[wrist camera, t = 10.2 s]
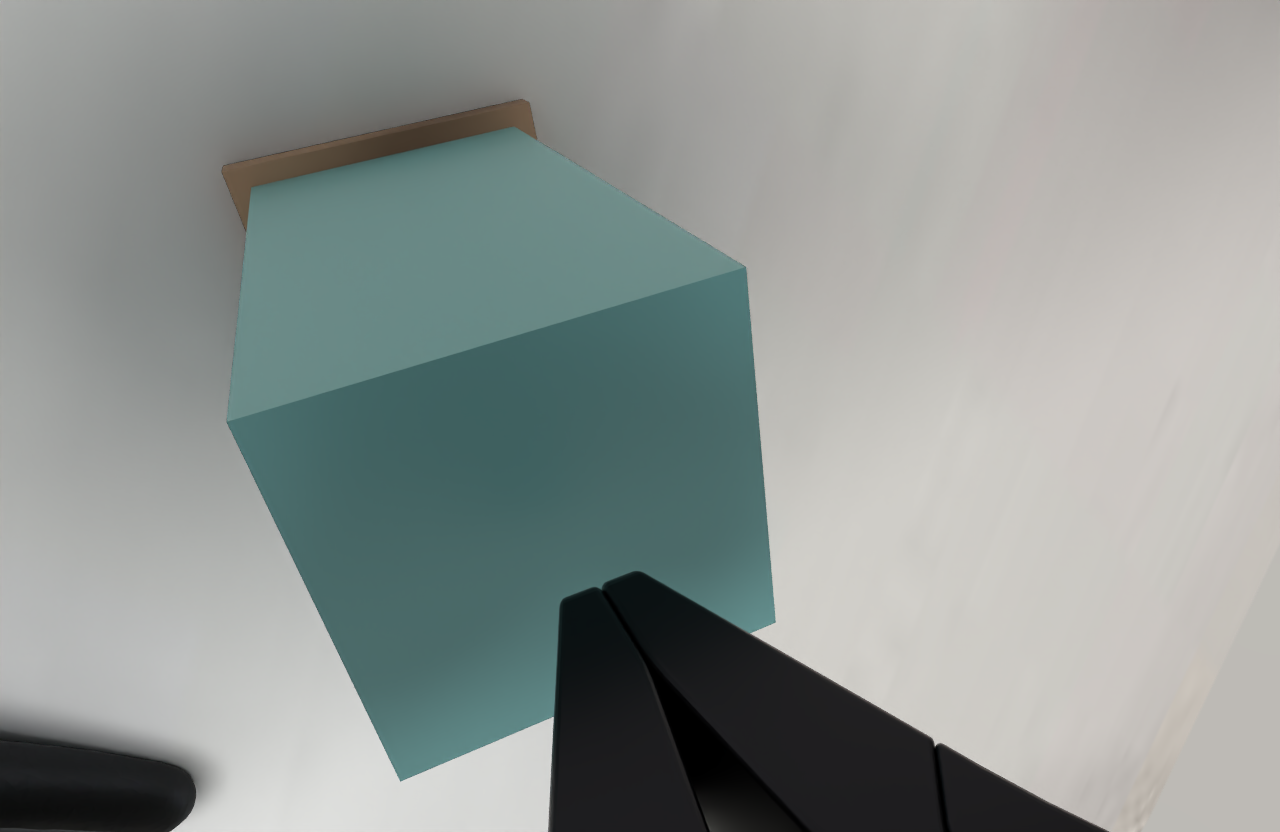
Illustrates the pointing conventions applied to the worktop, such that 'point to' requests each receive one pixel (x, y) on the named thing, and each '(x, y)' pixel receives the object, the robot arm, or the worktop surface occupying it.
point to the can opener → (89, 791)
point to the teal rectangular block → (491, 421)
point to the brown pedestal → (371, 148)
